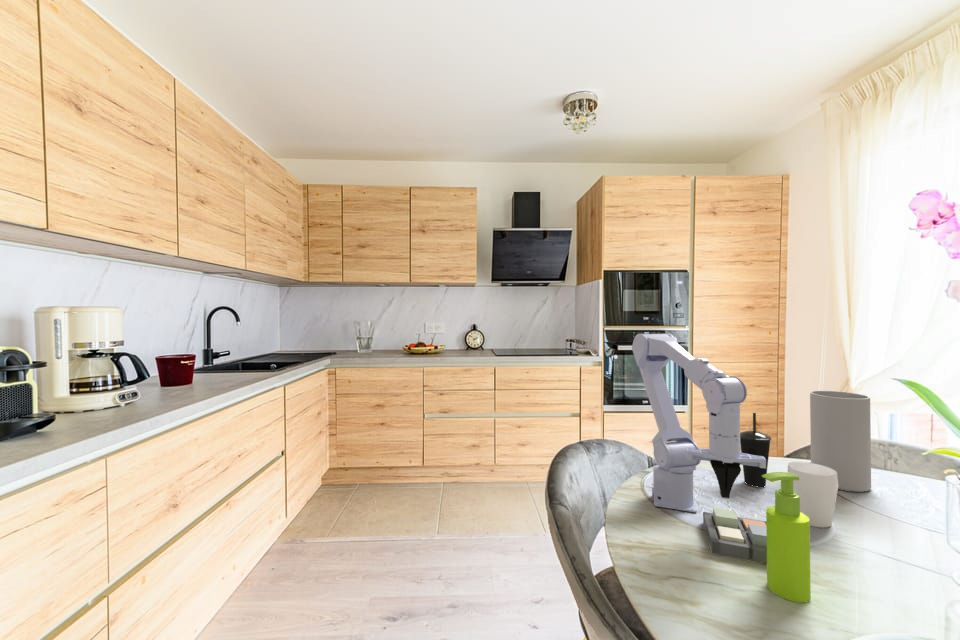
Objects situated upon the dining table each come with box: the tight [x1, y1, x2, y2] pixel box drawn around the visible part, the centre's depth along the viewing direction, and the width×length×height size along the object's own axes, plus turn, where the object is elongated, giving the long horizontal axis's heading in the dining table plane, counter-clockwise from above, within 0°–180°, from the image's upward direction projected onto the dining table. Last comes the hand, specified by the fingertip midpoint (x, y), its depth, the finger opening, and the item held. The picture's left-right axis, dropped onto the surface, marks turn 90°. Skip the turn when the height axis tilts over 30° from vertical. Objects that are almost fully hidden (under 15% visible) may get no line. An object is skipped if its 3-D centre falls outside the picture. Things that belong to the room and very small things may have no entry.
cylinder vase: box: [809, 390, 872, 493], centre depth 111 cm, size 12×12×25 cm
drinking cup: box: [740, 412, 772, 488], centre depth 112 cm, size 8×8×20 cm
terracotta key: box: [741, 517, 767, 531], centre depth 84 cm, size 4×4×2 cm
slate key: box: [748, 524, 767, 547], centre depth 79 cm, size 4×4×2 cm
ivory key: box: [717, 526, 744, 543], centre depth 81 cm, size 4×4×2 cm
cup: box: [787, 461, 838, 528], centre depth 91 cm, size 9×9×12 cm
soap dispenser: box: [762, 471, 812, 603], centre depth 68 cm, size 6×7×20 cm
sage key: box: [712, 507, 738, 529], centre depth 86 cm, size 4×4×2 cm
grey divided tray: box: [702, 511, 767, 565], centre depth 82 cm, size 13×13×2 cm
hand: (724, 496), depth 86 cm, fingers closed
